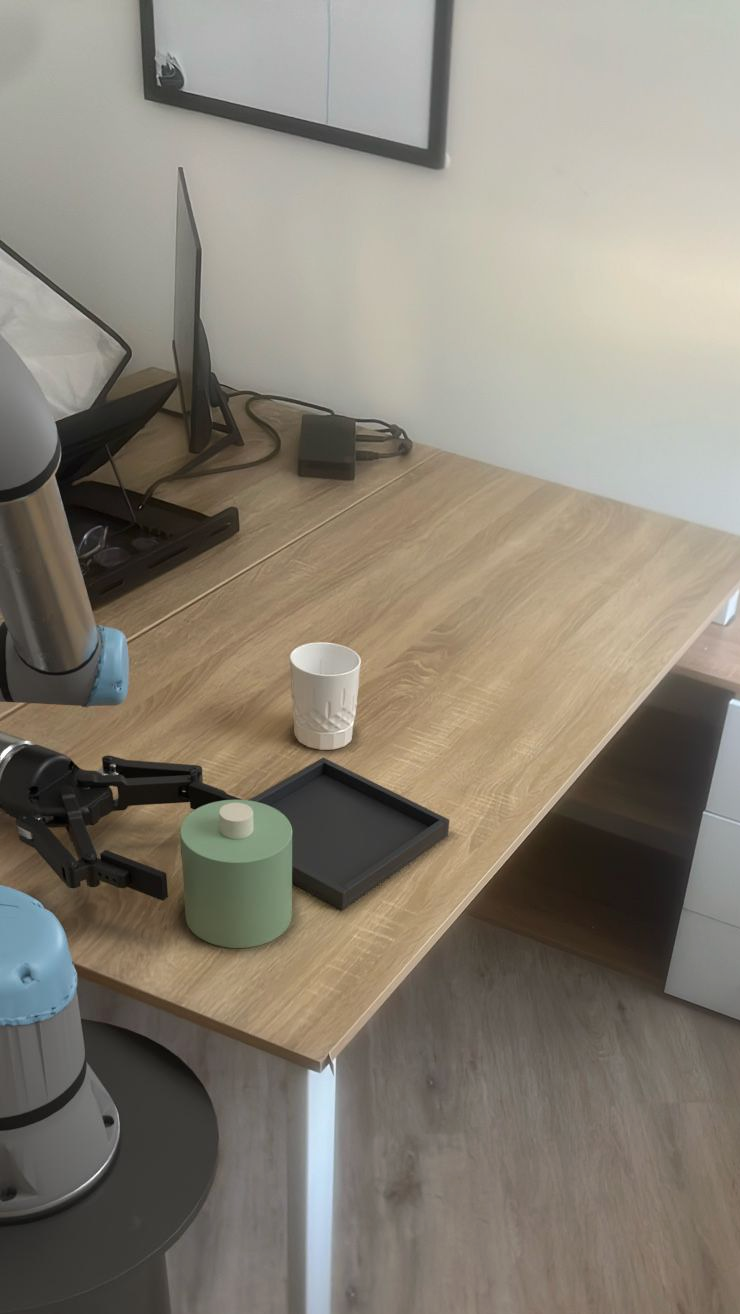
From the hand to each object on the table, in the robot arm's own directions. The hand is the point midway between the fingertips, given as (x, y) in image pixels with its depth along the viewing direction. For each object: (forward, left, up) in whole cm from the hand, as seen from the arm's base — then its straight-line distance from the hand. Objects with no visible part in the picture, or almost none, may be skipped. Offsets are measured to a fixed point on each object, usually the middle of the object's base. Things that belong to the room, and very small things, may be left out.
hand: (208, 850), depth 119 cm
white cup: (+32, +13, -7) cm, 35 cm away
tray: (+17, -1, -6) cm, 18 cm away
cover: (+1, -3, -6) cm, 7 cm away
